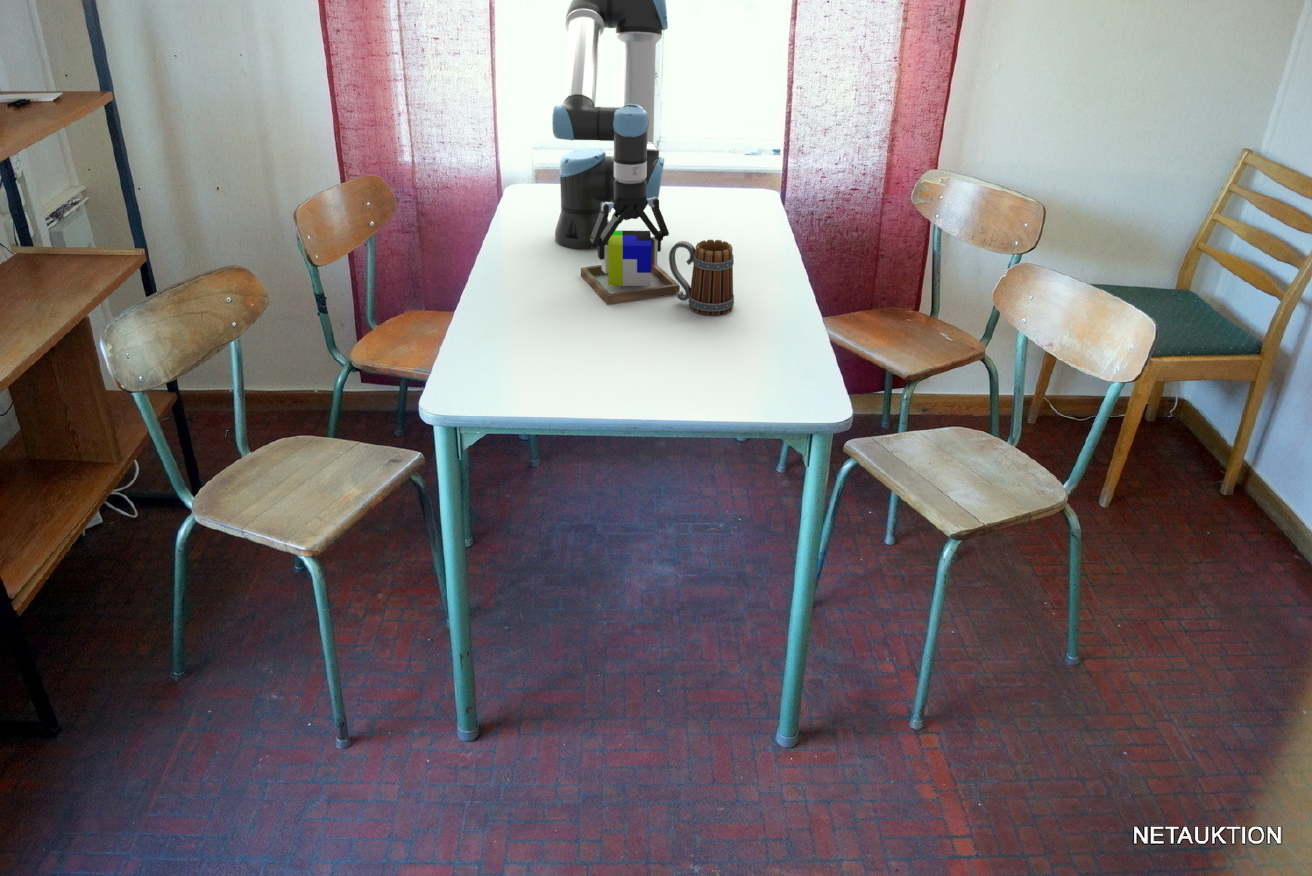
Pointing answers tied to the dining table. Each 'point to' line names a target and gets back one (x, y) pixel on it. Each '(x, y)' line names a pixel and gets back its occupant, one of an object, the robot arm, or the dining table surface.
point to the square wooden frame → (626, 296)
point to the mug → (707, 277)
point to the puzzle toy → (629, 258)
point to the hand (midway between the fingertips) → (629, 268)
